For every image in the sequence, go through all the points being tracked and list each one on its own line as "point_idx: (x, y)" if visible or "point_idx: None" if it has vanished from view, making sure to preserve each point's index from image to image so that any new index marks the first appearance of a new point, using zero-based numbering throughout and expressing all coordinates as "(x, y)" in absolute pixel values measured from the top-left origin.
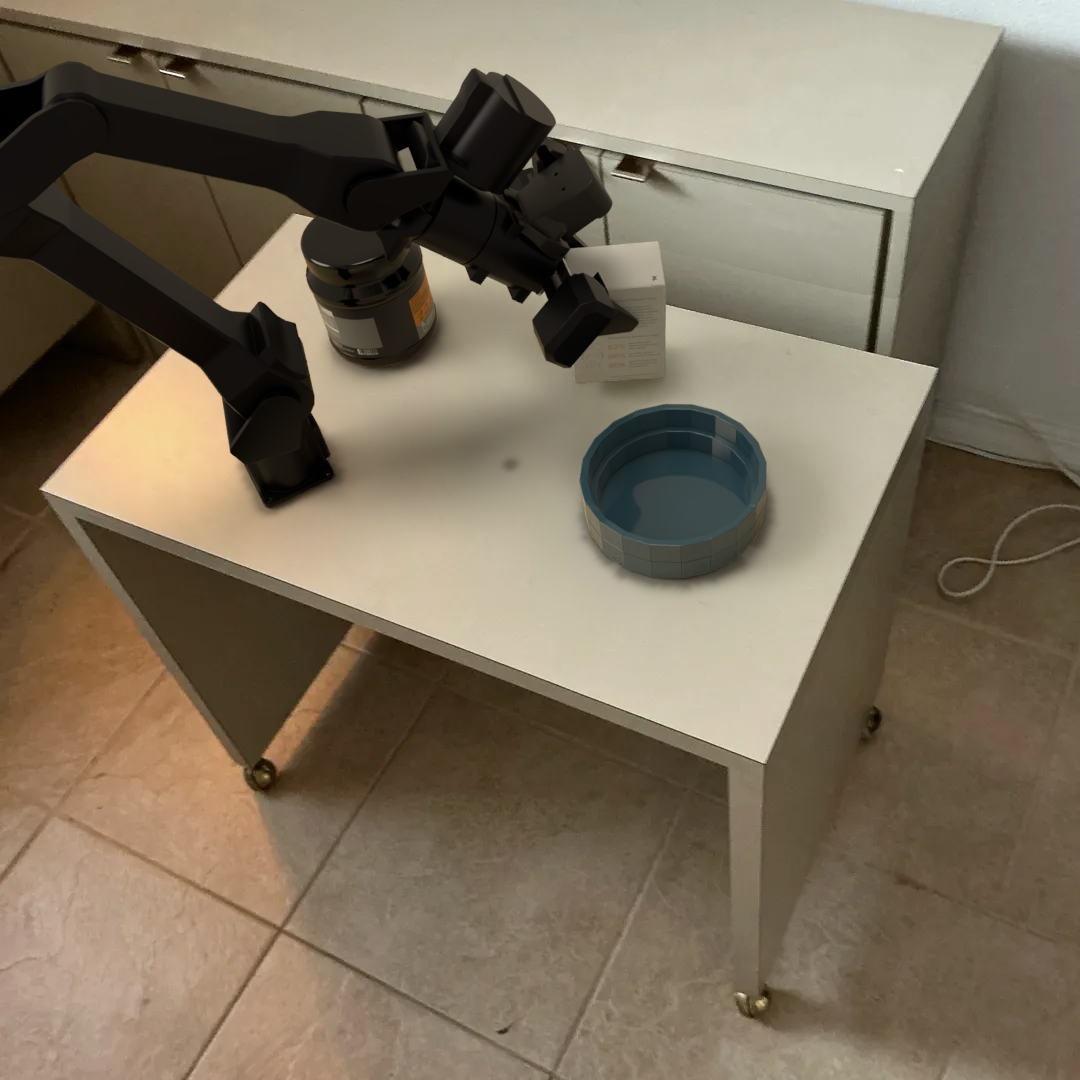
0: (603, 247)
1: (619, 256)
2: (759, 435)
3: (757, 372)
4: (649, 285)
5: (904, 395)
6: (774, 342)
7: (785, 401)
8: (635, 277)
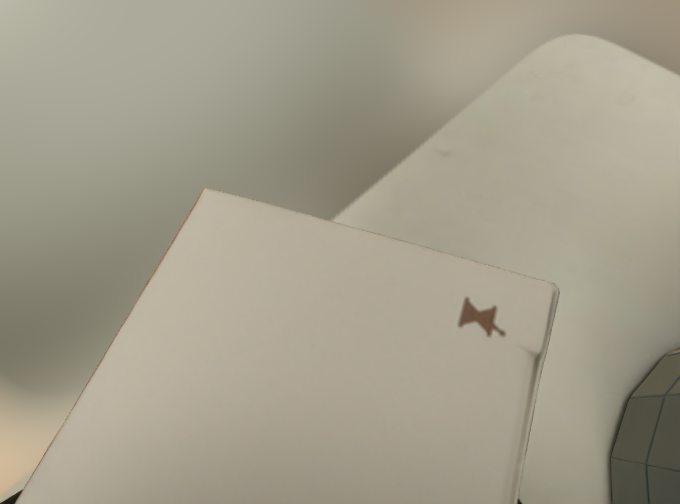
0: (36, 502)
1: (183, 438)
2: (638, 270)
3: (469, 211)
4: (527, 372)
5: (603, 54)
6: (411, 162)
7: (559, 198)
8: (428, 431)
